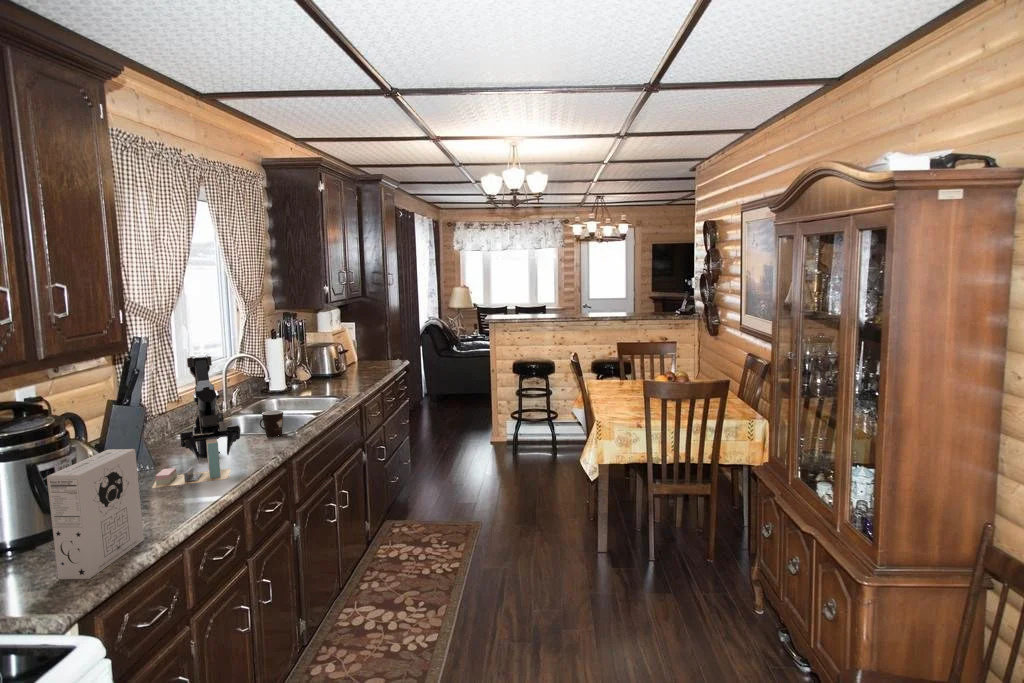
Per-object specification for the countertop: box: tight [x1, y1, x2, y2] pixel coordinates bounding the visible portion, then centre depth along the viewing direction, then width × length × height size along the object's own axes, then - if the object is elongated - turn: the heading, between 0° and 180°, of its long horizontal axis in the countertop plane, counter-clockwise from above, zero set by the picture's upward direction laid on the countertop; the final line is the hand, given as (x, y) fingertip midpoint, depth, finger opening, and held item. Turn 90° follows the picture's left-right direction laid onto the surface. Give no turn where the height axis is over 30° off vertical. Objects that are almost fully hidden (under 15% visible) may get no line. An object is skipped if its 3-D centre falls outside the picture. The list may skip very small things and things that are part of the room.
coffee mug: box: [259, 409, 284, 438], centre depth 278 cm, size 12×9×10 cm
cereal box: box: [46, 448, 145, 580], centre depth 160 cm, size 22×8×25 cm, turn 178°
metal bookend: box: [183, 466, 203, 482], centre depth 219 cm, size 7×4×3 cm, turn 11°
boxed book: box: [206, 439, 221, 479], centre depth 222 cm, size 6×3×12 cm, turn 29°
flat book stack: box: [155, 467, 178, 485], centre depth 218 cm, size 8×4×3 cm, turn 11°
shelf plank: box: [151, 468, 232, 489], centre depth 220 cm, size 23×12×1 cm, turn 110°
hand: (213, 456), depth 221 cm, fingers open, 9 cm apart
